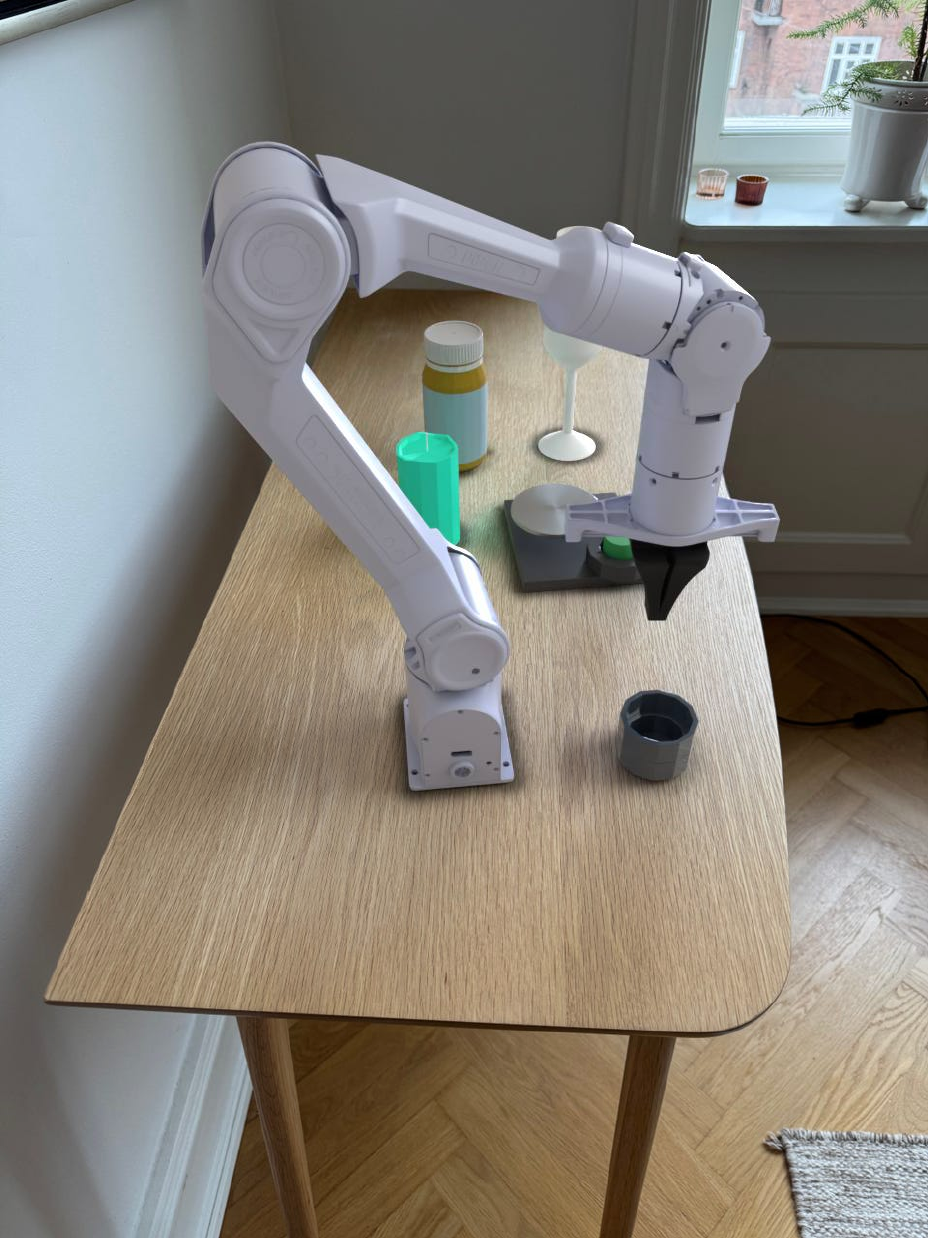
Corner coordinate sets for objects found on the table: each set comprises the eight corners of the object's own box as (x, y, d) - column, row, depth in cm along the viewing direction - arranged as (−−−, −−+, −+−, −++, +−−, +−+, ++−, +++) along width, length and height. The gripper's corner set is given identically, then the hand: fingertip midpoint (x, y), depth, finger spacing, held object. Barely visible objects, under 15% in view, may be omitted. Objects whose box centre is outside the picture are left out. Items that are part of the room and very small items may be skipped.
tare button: (640, 559, 86) (642, 544, 85) (606, 561, 86) (608, 546, 84) (632, 539, 88) (634, 524, 87) (599, 541, 88) (601, 526, 87)
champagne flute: (606, 453, 105) (627, 239, 89) (553, 465, 103) (565, 249, 88) (579, 426, 110) (594, 219, 94) (528, 438, 108) (535, 228, 92)
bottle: (415, 465, 104) (407, 339, 94) (444, 437, 109) (440, 314, 99) (469, 479, 101) (467, 351, 92) (497, 450, 106) (498, 325, 96)
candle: (454, 557, 90) (450, 451, 83) (395, 551, 91) (386, 445, 84) (466, 523, 95) (464, 419, 87) (410, 517, 96) (403, 414, 88)
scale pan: (610, 535, 88) (610, 531, 88) (517, 542, 88) (518, 537, 87) (591, 484, 95) (591, 480, 95) (505, 490, 94) (505, 486, 94)
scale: (656, 589, 87) (660, 564, 85) (524, 599, 86) (525, 574, 84) (620, 501, 98) (622, 477, 96) (503, 509, 97) (504, 485, 95)
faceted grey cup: (697, 781, 69) (706, 741, 66) (625, 787, 69) (631, 748, 66) (677, 726, 74) (685, 687, 71) (608, 732, 73) (614, 693, 70)
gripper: (776, 425, 63) (740, 579, 72) (566, 426, 64) (556, 579, 73) (802, 481, 58) (760, 639, 67) (573, 481, 58) (562, 639, 67)
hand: (655, 612), depth 69 cm, fingers closed
